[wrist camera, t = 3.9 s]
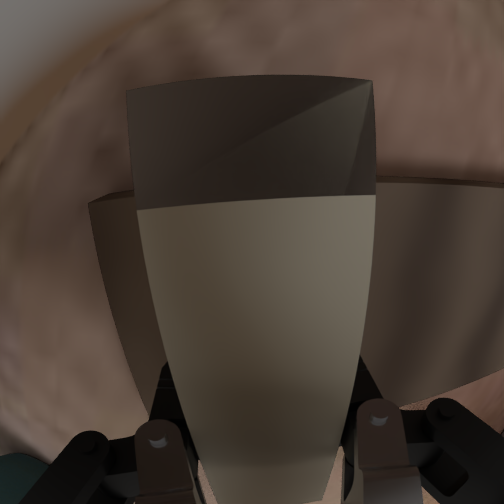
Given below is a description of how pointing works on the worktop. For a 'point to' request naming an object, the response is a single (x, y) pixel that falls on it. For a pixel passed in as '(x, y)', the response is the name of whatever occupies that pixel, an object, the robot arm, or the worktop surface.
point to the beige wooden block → (259, 266)
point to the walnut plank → (380, 289)
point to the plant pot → (18, 476)
